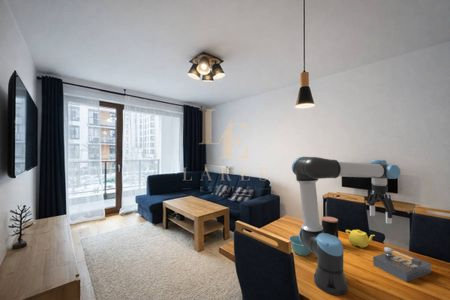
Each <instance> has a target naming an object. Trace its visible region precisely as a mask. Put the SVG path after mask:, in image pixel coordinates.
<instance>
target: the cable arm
mask: <svg viewBox="0 0 450 300" xmlns="http://www.w3.org/2000/svg"><path fill="white" fill-rule="evenodd" d="M383 251H384V254H385V253H387V254H392V255H395V256H397V257H399V258H402V259H404V260H407V261H409V262H411V263H412V264H415V265H417V266H420V265H422V262H421V260H422V259H421V260H418V259H419V258H418V259H416V258H417V257H416V258H412V257H409V256H407V255H404V254H402V253H399V252H397V251H396V250H395V249H393V248H392V247H388V246H385V247H384V248H383Z"/></svg>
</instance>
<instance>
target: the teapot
mask: <svg viewBox="0 0 450 300" xmlns="http://www.w3.org/2000/svg"><path fill="white" fill-rule="evenodd" d="M345 233H346V234H347V236H348V242H349V243H350V244H351V246H353V247H354V246H356V247H359V248H360V249H364V248H366V247H368V246H369V244H371V243H372V241H373V237H375V236H376V235H375V234H370V236H368V234H367V232H365V231H362V230H360V229H352V230H350V229H345Z"/></svg>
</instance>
